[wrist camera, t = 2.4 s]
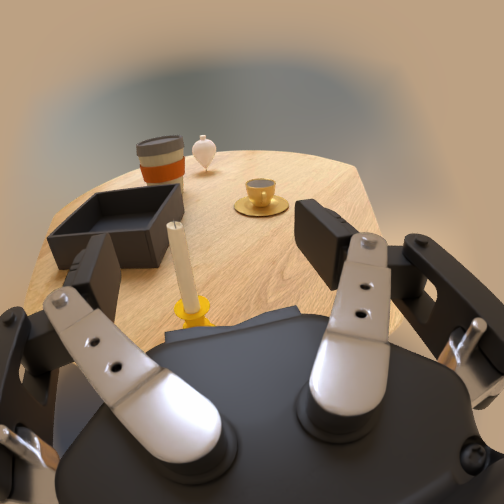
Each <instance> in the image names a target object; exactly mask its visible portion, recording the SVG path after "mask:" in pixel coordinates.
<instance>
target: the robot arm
mask: <svg viewBox="0 0 504 504" xmlns="http://www.w3.org/2000/svg"><path fill="white" fill-rule="evenodd" d="M294 236H295V241H296V244H297V246H298V248H299V249H300V250H301V252H302V253H303V254H304V256H305V257H306V258H307V260H308V261H309V262H310V264H311V265H312V266H313V267H314V269H315V270H316V271H317V273H318V274H319V275H320V277H321V278H322V279H323V281H324V282H325V283H326V285H327V286H328V287H329V289H330V290H331V291H332V290H336V289H337V293H336V297H335V301H334V304H333V308H332V311H331V315H330V317H327V316H322V315H316V314H301V313H300V311H299V309H298V307H297V306H296V305H295V306H290V307H286V308H282V309H278V310H273V311H269V312H265V313H263V314H260V315H258V316H256V317H253V318H251V319H249V320H247V321H244V322H242V323H240V324H237V325H234V326H196V327H191V328H185V329H180V330H174V331H168V332H165V342H164V343H162V344H160V345H158V346H156V347H154V348H152V349H151V350H149V351H147V352H146V353H144V352H143V351H142V350H141V349H140V348H139V347H138V346H136V345H135V344H134V343H133V342H132V341H131V340H130V339H129V338H128V337H127V336H126V335H125V334H124V333H123V332H122V331H121V330H120V329H119V328H118V327H117V326H116V325H115V324H114V320H115V313H116V306H117V300H118V294H119V288H120V282H121V270H120V265H119V262H118V259H117V256H116V253H115V250H114V246H113V243H112V240H111V237H110V235H109V233H104V234H99V235H94V236H91V238H90V240H89V242H88V245H87V247H86V249H83V250H82V251H81V252H80V253H79V254H78V255H77V256H76V257H75V259H74V261H73V263H72V266H71V268H70V270H69V271H70V272H68V274H67V277H66V279H65V282H64V284H63V286H62V287H61V288H58V289H56V290H54V291H53V292H51V293H50V294H49V295H48V296H47V297H46V299H45V300H44V302H43V309H44V310H41V311H39V312H37V313H34V314H32V315H30V316H27V314H26V313H25V311H24V309H23V308H22V307H13V308H10V309H8V310H7V311H6V312H4V313H3V314H2V315H1V316H0V504H504V454H502V453H499V452H497V451H495V450H493V449H491V448H490V447H488V446H487V445H486V444H485V442H484V441H483V440H482V438H481V436H480V434H479V432H478V429H477V426H476V423H475V420H474V416H473V411H472V408H473V409H476V410H482V409H485V408H486V407H488V406H489V405H490V403H491V402H492V401H493V400H494V399H495V398H496V397H497V396H498V395H499V394H500V393H501V391H502V390H503V389H504V305H503V303H502V302H500V300H499V299H498V298H497V297H496V296H495V295H494V294H493V293H492V292H491V291H490V290H489V289H488V288H487V287H486V286H485V285H483V284H482V283H481V282H480V281H479V280H478V279H477V278H476V277H475V276H474V275H473V274H472V273H471V272H469V271H468V270H467V269H466V268H465V267H464V266H463V265H462V264H461V263H460V262H458V261H457V260H456V259H455V258H454V257H453V256H452V255H450V254H449V253H448V252H447V251H446V250H445V249H443V248H442V247H441V246H440V245H438V244H437V243H436V242H435V241H434V240H432V239H431V238H429V237H427V236H425V235H421V234H408V235H407V236H405V239H404V244H403V246H387V242H386V240H385V239H384V238H382V237H381V236H379V235H376V234H373V233H368V232H361V233H360V232H358V231H357V230H356V229H355V228H354V227H353V226H351V225H350V224H349V223H348V222H346V220H344V219H343V218H341V216H340V215H338V214H337V213H336V212H334V211H332V210H330V209H327V208H324V207H323V206H321V205H320V204H319V203H318V202H317V201H315V200H314V199H307V200H299V201H296V203H295V222H294ZM427 279H429V280H430V281H431V282H432V284H433V285H434V286H435V287H436V290H437V300H436V302H434V301H433V299H432V298H431V297H430V296H429V295H428V294H427V293H426V292H425V291H424V287H425V285H426V282H427ZM390 299H391V300H392V301H393V303H394V304H395V305H396V306H397V308H398V309H399V310H400V312H401V313H402V314H403V315H404V317H405V318H406V319H407V320H408V322H409V323H410V324H411V326H412V327H413V328H414V330H415V331H416V332H417V334H418V335H419V336H420V338H421V339H422V340H423V342H424V343H425V344H426V346H427V347H428V348H429V350H430V351H431V353H432V354H433V355H434V357H435V358H436V360H437V361H438V362H436V361H434V360H431V359H428V358H426V357H424V356H421V355H419V354H416V353H414V352H411V351H409V350H407V349H404V348H402V347H399V346H397V345H394V344H392V343H390V342H388V335H389V320H390ZM74 361H75V363H76V364H77V365H78V367H79V368H80V370H81V371H82V373H83V374H84V375H85V376H86V378H87V380H88V381H89V382H90V383H91V385H92V386H93V388H94V389H95V390H96V392H97V393H98V394H99V396H100V397H101V398H102V399H103V400H104V403H103V404H102V405H101V407H100V408H99V409H98V410H97V412H96V413H95V414H94V416H93V417H92V418H91V419H90V421H89V422H88V424H87V425H86V426H85V427H84V429H83V430H82V431H81V432H80V434H79V435H78V436H77V438H76V439H75V441H74V442H73V443H72V444H71V446H70V447H69V448H68V450H67V451H66V452H65V454H64V455H63V457H62V458H61V459H60V458H59V455H58V453H57V452H56V450H55V449H54V448H53V425H54V411H55V400H56V391H57V382H58V374H59V367H62V366H64V365H67V364H69V363H72V362H74ZM20 364H22V365H23V366H24V368H25V373H24V379H23V383H21V381H20V378H19V367H20Z"/></svg>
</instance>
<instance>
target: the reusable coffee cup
mask: <svg viewBox="0 0 504 504" xmlns="http://www.w3.org/2000/svg"><path fill="white" fill-rule="evenodd" d="M136 148H137V156H138V157H139V160H140V163H141V164H140V169H141V172H142V175H143V178H144V181H145V182H146V183H147V186H154V185H164V184H175V183H180V186H181V192H182V193H183V175H184V173H185V157H184V156H183V148H184V142H183V138H182V136H180V135H170V136H162V137H157V138H152V139H148V140H145V141H142V142H140V143H138V144H137V145H136Z"/></svg>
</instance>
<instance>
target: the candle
mask: <svg viewBox="0 0 504 504" xmlns="http://www.w3.org/2000/svg"><path fill="white" fill-rule="evenodd" d="M166 226H167V231H168V238H169V244H170V249H171V254H172V258H173V263H174V267H175V272H176V276H177V281H178V285H179V289H180V293H181V298H182V299H180V300H179V301H178V302H177V303H176V304H175V307H174V312H175V314H176V315H177V316H178V317H179V318H181V319H184V320H185V323H184V324H183V329H185V328H191V327H196V326H215V325H214V324H212V323H210V321H209V320H208V319H207V318H205V316H204V315H205V314H206V313H207V312H208V310H209V308H210V303H209V301H208V299H206V298H205V297H203V296H199V295H197V290H196V285H195V281H194V276H193V271H192V266H191V261H190V256H189V251H188V246H187V241H186V237H185V232H184V228H183V225H182V223H180V222H176V221H174V219H173V222H169V223H168V224H167V225H166Z"/></svg>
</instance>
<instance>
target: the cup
mask: <svg viewBox="0 0 504 504" xmlns="http://www.w3.org/2000/svg"><path fill="white" fill-rule="evenodd" d="M275 185H276V182H275V181H273V180H271V179H264V178H260V179H252V180H249V181H247V182H246V190H247V194H248V196H247V197H244V198H241V199H240V200H238V201H237V202H236V203H235V205H234V207H235V209H236V210H237V211H238V212H240V213H243V214H247V215H253V216H266V215H273V214H277V213H280V212H282V211H284V210H285V209H287V207H288V205H289V204H288V202H287V201H286V200H285V199H284V198H282V197H279V196H275V195H274V193H275Z"/></svg>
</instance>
